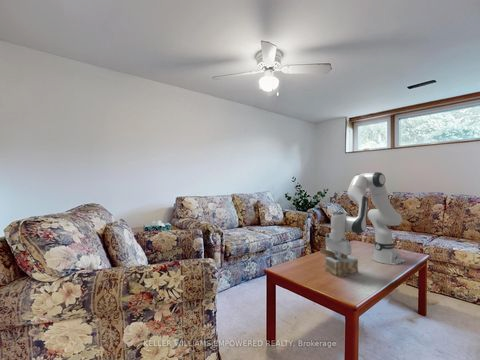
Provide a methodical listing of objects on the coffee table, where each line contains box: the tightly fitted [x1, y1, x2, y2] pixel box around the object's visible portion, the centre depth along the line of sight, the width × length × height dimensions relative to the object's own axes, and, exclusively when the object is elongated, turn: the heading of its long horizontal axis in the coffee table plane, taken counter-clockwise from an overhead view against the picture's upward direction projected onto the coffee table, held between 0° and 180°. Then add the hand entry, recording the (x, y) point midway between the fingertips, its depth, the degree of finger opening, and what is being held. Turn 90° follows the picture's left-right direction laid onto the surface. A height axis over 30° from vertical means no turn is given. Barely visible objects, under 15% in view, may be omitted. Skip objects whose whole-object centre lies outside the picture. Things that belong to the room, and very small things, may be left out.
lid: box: [325, 254, 359, 264], centre depth 159 cm, size 18×10×6 cm, turn 109°
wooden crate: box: [324, 255, 359, 278], centre depth 159 cm, size 18×13×10 cm
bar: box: [319, 247, 338, 259], centre depth 164 cm, size 2×15×3 cm, turn 18°
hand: (337, 257), depth 155 cm, fingers closed
